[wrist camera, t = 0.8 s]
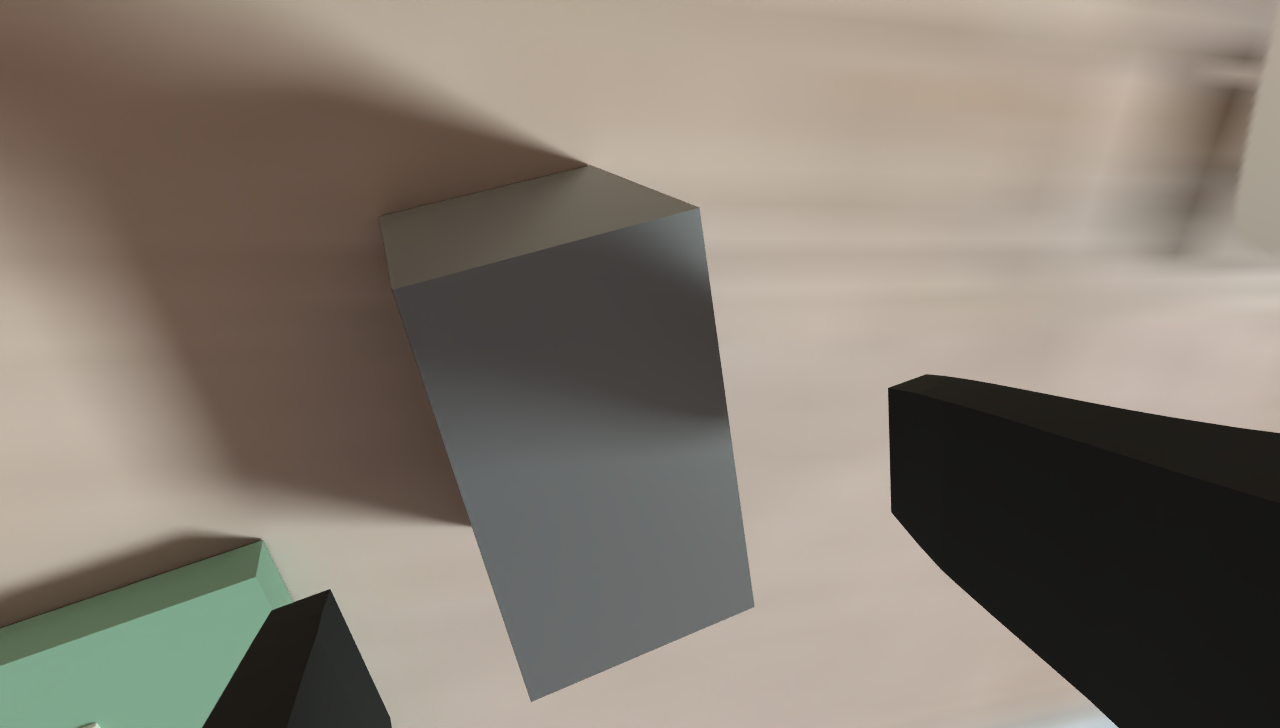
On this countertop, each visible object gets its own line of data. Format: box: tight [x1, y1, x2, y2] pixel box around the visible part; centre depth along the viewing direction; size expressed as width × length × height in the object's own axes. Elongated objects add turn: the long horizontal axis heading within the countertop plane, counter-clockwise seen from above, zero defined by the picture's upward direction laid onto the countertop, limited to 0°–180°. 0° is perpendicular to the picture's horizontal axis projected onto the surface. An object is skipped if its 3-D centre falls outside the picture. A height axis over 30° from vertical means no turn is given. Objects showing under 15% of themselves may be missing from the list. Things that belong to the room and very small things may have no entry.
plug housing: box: [379, 165, 754, 702], centre depth 13 cm, size 7×4×5 cm, turn 11°
